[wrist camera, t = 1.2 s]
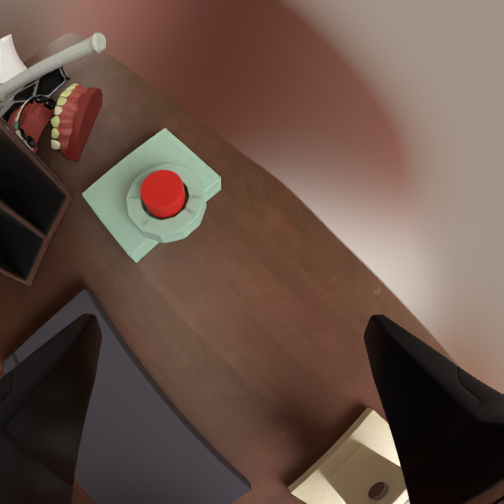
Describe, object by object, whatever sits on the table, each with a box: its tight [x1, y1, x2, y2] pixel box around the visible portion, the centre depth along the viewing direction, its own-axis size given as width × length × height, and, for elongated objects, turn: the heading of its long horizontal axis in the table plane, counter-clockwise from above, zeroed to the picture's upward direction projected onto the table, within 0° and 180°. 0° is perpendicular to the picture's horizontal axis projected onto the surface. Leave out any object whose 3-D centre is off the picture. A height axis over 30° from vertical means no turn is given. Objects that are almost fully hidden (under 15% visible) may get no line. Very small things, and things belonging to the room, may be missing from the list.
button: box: [140, 170, 185, 218], centre depth 22 cm, size 3×3×2 cm
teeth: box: [8, 84, 102, 161], centre depth 25 cm, size 8×6×12 cm
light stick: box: [0, 33, 106, 103], centre depth 23 cm, size 7×6×30 cm
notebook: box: [3, 289, 251, 504], centre depth 19 cm, size 13×2×21 cm
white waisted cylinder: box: [0, 35, 28, 109], centre depth 25 cm, size 8×8×10 cm
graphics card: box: [0, 67, 70, 123], centre depth 27 cm, size 12×3×5 cm, turn 148°
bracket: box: [288, 408, 409, 504], centre depth 16 cm, size 10×8×10 cm
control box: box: [82, 128, 221, 263], centre depth 24 cm, size 10×10×4 cm
